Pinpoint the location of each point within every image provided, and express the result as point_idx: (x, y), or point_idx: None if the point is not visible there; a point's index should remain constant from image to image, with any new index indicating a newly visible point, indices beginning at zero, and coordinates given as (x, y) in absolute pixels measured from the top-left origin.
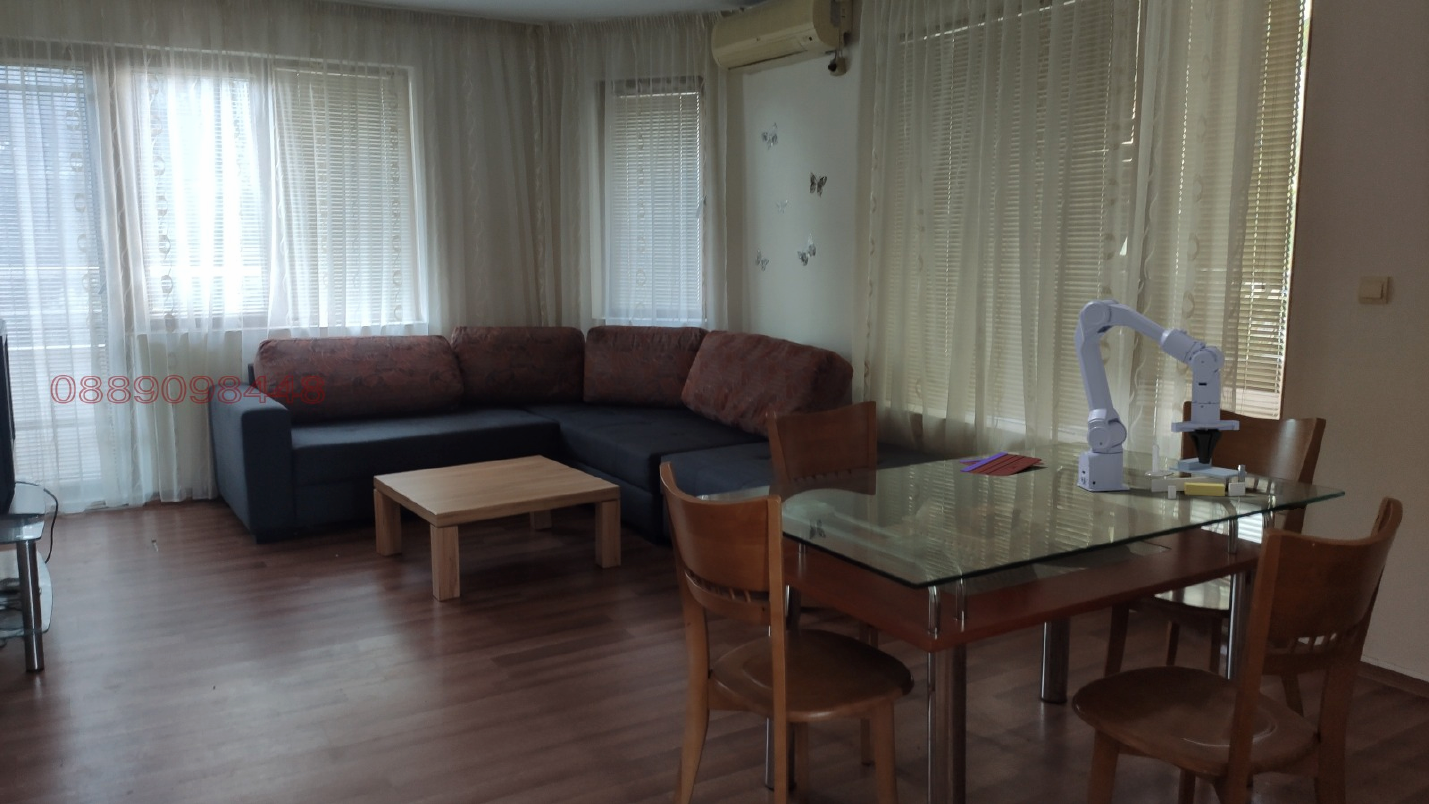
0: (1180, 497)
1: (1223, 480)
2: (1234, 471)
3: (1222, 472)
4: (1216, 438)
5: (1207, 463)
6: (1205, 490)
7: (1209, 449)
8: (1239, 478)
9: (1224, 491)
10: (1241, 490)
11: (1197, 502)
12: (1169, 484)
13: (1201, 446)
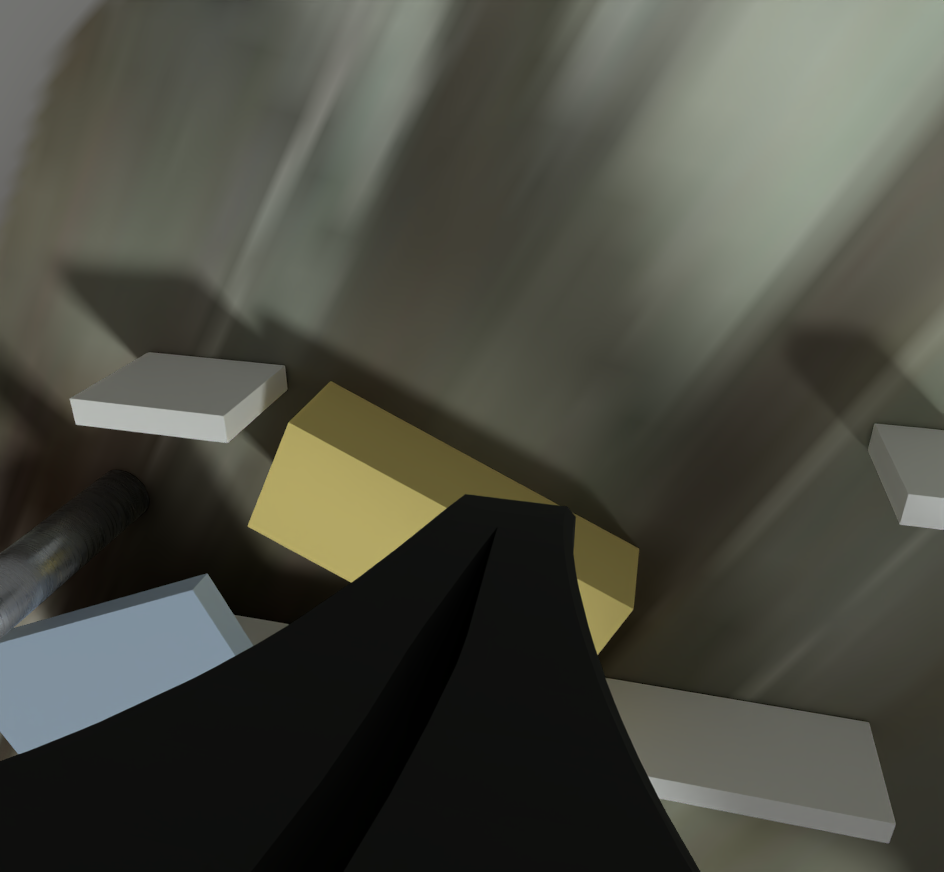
0: (779, 458)
1: None
2: (33, 709)
3: None
4: (21, 838)
5: (499, 500)
6: (470, 485)
7: (411, 643)
8: (63, 552)
9: (313, 401)
10: (152, 372)
11: (782, 179)
12: (695, 742)
13: (637, 784)
